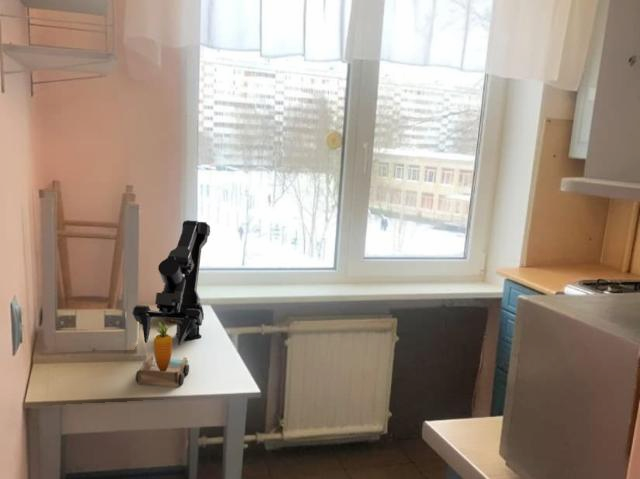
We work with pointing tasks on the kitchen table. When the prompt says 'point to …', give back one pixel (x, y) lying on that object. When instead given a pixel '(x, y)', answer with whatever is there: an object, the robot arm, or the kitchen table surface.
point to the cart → (162, 373)
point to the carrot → (162, 348)
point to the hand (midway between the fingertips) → (162, 343)
